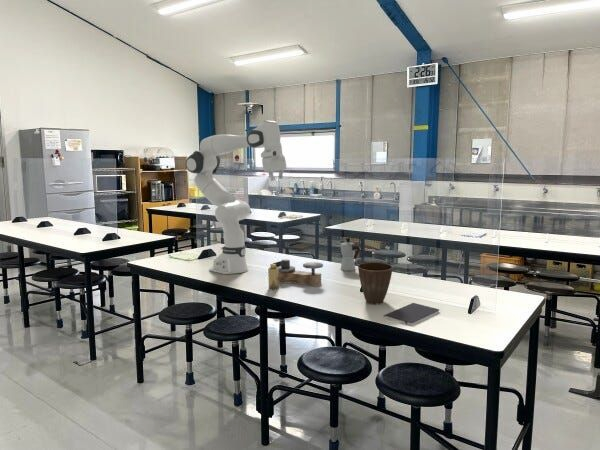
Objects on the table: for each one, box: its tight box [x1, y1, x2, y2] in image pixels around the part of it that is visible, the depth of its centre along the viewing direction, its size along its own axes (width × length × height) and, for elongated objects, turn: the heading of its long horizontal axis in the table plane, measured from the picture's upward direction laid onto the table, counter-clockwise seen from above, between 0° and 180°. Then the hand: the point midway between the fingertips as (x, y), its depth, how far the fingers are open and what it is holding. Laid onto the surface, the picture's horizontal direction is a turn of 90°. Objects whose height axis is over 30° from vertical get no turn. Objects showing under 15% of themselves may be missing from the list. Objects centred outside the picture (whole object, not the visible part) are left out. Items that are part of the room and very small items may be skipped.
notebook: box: [383, 302, 440, 326], centre depth 184 cm, size 13×2×21 cm
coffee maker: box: [339, 237, 361, 272], centre depth 256 cm, size 15×9×18 cm, turn 42°
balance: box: [276, 259, 324, 287], centre depth 233 cm, size 26×10×10 cm, turn 61°
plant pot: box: [357, 261, 394, 305], centre depth 200 cm, size 15×15×16 cm
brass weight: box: [267, 263, 280, 291], centre depth 223 cm, size 5×5×12 cm
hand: (276, 179), depth 235 cm, fingers open, 8 cm apart
